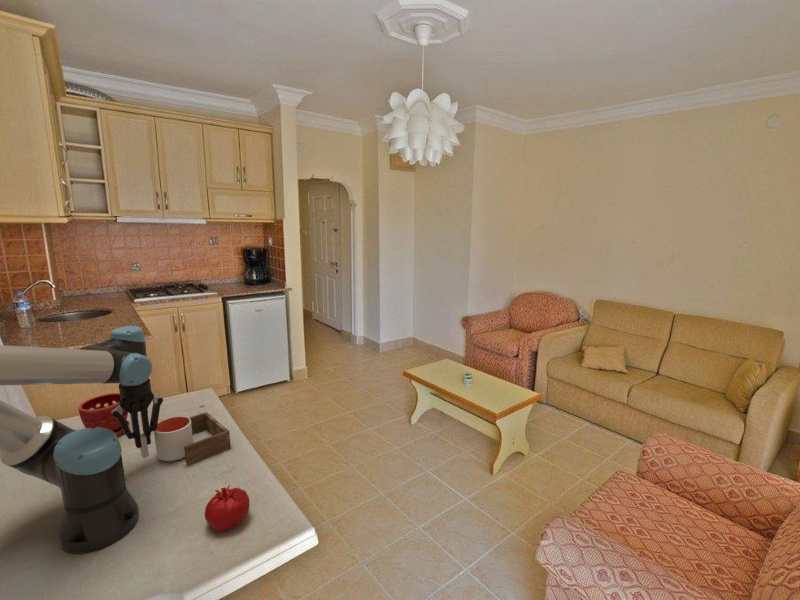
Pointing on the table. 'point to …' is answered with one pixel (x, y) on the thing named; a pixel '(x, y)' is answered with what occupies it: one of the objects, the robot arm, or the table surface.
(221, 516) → the pomegranate
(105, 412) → the plant pot
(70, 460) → the robot arm
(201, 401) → the table surface
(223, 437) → the box
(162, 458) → the cup
